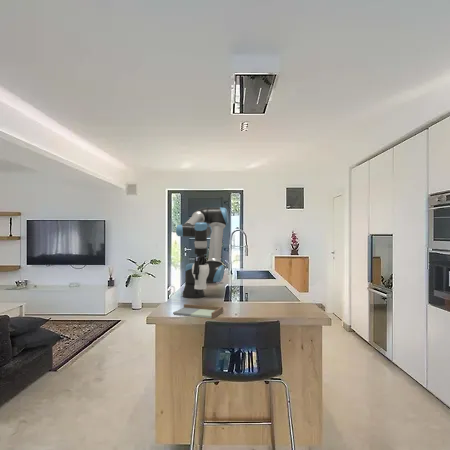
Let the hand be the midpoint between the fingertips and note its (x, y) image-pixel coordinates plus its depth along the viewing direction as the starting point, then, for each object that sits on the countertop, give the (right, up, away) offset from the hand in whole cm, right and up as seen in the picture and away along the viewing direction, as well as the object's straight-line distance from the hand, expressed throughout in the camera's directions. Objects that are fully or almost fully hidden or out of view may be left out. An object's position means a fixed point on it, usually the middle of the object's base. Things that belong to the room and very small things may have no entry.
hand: (200, 283), depth 263 cm
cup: (0, -3, 0) cm, 3 cm away
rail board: (0, -14, -19) cm, 24 cm away
